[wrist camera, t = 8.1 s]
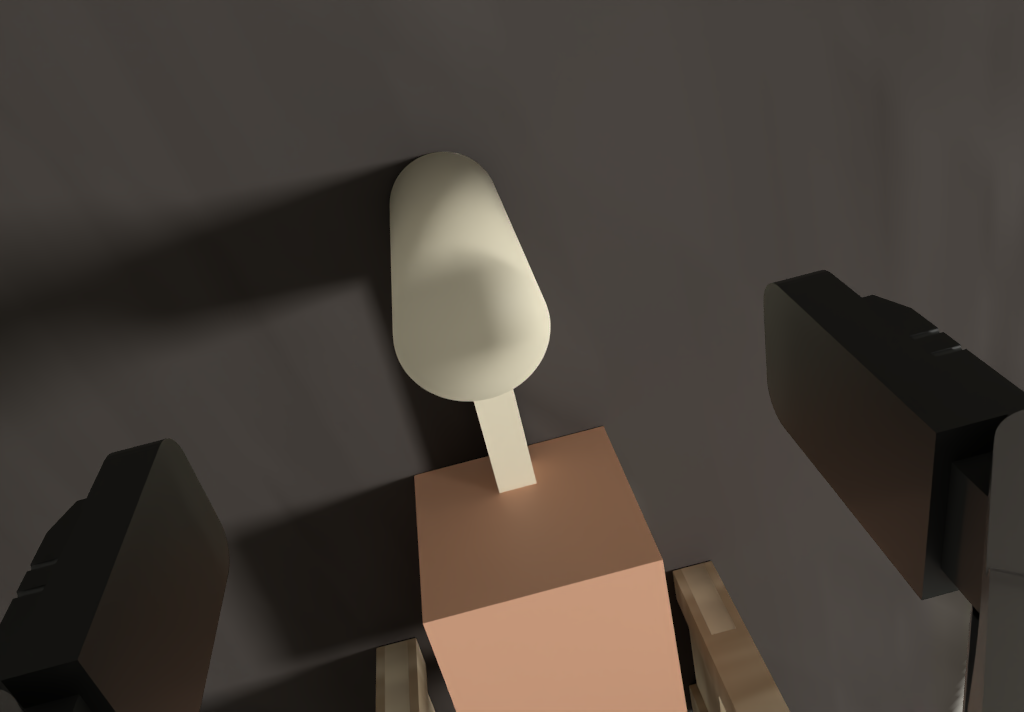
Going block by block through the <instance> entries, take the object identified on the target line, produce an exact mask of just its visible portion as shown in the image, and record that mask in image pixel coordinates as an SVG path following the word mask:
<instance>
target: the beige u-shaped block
mask: <svg viewBox="0 0 1024 712" xmlns="http://www.w3.org/2000/svg"><path fill="white" fill-rule="evenodd" d="M673 577H674V584H675V591H676V598H677V601H678V604H679V606H680V608H681V610H682V613H683V615H684V617H685V619H686V622H687V624H688V626H689V632H690V639H691V647H692V654H693V661H694V669H695V676H696V684H693V685H689V689H690V696H691V703H692V709H693V712H790V711H789V709H788V707H787V705H786V703H785V701H784V699H783V697H782V695H781V694H780V692H779V690H778V688H777V686H776V684H775V682H774V680H773V678H772V676H771V674H770V672H769V671H768V669H767V667H766V665H765V663H764V661H763V659H762V657H761V655H760V653H759V651H758V649H757V648H756V646H755V644H754V642H753V640H752V638H751V636H750V634H749V632H748V630H747V628H746V627H745V625H744V623H743V621H742V619H741V617H740V615H739V613H738V611H737V609H736V607H735V605H734V604H733V602H732V600H731V598H730V596H729V594H728V592H727V590H726V588H725V586H724V584H723V582H722V581H721V579H720V577H719V575H718V573H717V571H716V569H715V567H714V565H713V563H712V561H709V562H705V563H701V564H697V565H694V566H690V567H686V568H682V569H678V570H674V571H673ZM376 712H435V710H434V708H433V705H432V702H431V700H430V697H429V695H428V689H427V672H426V663H425V661H424V658H423V655H422V653H421V650H420V648H419V645H418V642H417V640H416V638H413V639H409V640H405V641H402V642H398V643H394V644H390V645H386V646H382V647H379V648H376Z"/></svg>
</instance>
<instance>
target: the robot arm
mask: <svg viewBox="0 0 1024 712" xmlns="http://www.w3.org/2000/svg"><path fill="white" fill-rule="evenodd" d="M764 324H765V345H766V366H767V384H768V390H769V395H770V398H771V402H772V405H773V408H774V410H775V412H776V415H777V417H778V419H779V420H780V422H781V424H782V425H783V427H784V428H785V429H786V430H787V432H788V433H789V434H790V435H791V437H792V438H793V439H794V440H795V442H796V443H797V444H798V445H799V447H800V448H801V449H802V450H803V452H804V453H805V454H806V456H807V457H808V458H809V459H810V461H811V462H812V463H813V464H814V466H815V467H816V468H817V469H818V471H819V472H820V473H821V474H822V476H823V477H824V478H825V479H826V481H827V482H828V483H829V484H830V486H831V487H832V488H833V489H834V491H835V492H836V493H837V494H838V496H839V497H840V498H841V499H842V501H843V502H844V503H845V505H846V506H847V507H848V508H849V510H850V511H851V512H852V513H853V515H854V516H855V517H856V518H857V520H858V521H859V522H860V523H861V525H862V526H863V527H864V528H865V530H866V531H867V532H868V533H869V535H870V536H871V537H872V538H873V540H874V541H875V542H876V543H877V545H878V546H879V547H880V549H881V550H882V551H883V552H884V554H885V555H886V556H887V557H888V559H889V560H890V561H891V562H892V564H893V565H894V566H895V567H896V569H897V570H898V571H899V572H900V574H901V575H902V576H903V577H904V579H905V580H906V581H907V582H908V584H909V585H910V586H911V587H912V589H913V590H914V591H915V593H916V594H917V595H918V596H919V598H920V599H921V600H924V599H928V598H932V597H935V596H939V595H943V594H946V593H950V592H954V591H957V590H960V591H961V593H962V594H963V595H964V596H965V597H966V598H967V600H968V601H969V602H970V603H971V604H972V608H971V616H970V623H969V636H968V648H967V661H966V674H965V687H964V700H963V712H1024V392H1023V391H1022V390H1021V389H1019V388H1018V387H1017V386H1015V385H1014V384H1013V383H1011V382H1010V381H1008V380H1007V379H1006V378H1004V377H1003V376H1002V375H1000V374H999V373H998V372H996V371H995V370H994V369H992V368H991V367H990V366H988V365H987V364H986V363H984V362H983V361H982V360H980V359H979V358H978V357H976V356H975V355H974V354H972V353H971V352H969V351H968V350H967V349H965V350H962V349H961V345H960V344H959V343H957V342H956V341H955V340H953V339H952V338H951V337H949V336H948V335H947V334H945V333H944V332H942V333H939V331H938V328H937V327H936V326H935V325H933V324H932V323H931V322H929V321H928V320H926V319H925V318H924V317H922V316H921V315H920V314H918V313H917V312H916V311H914V310H913V309H912V308H909V307H906V306H904V305H901V304H898V303H895V302H892V301H889V300H886V299H883V298H881V297H878V296H875V295H871V296H867V297H863V298H862V297H860V296H859V295H858V294H857V293H855V292H854V291H853V290H852V289H850V288H849V287H848V286H847V285H845V284H844V283H843V282H841V281H840V280H839V279H838V278H836V277H835V276H834V275H833V274H831V273H830V272H828V271H826V270H821V271H817V272H813V273H809V274H805V275H801V276H797V277H794V278H790V279H786V280H782V281H778V282H774V283H771V284H769V285H768V286H767V287H766V289H765V292H764ZM228 572H229V549H228V544H227V539H226V536H225V532H224V530H223V527H222V525H221V523H220V521H219V519H218V517H217V515H216V513H215V511H214V509H213V507H212V505H211V503H210V501H209V500H208V498H207V496H206V494H205V492H204V490H203V488H202V486H201V484H200V482H199V481H198V479H197V477H196V475H195V473H194V471H193V469H192V467H191V465H190V463H189V462H188V460H187V458H186V456H185V454H184V452H183V451H182V449H181V448H180V446H179V445H178V444H177V443H176V442H175V441H174V440H172V439H163V440H160V441H156V442H152V443H148V444H144V445H140V446H136V447H133V448H129V449H125V450H121V451H117V452H113V453H111V454H109V455H108V456H107V457H106V459H105V460H104V463H103V465H102V467H101V469H100V471H99V473H98V475H97V477H96V480H95V482H94V484H93V486H92V488H91V490H90V492H89V494H88V496H87V499H83V500H79V501H77V502H76V503H75V504H74V505H73V506H72V507H71V508H70V509H69V510H68V511H67V512H66V513H65V514H64V515H63V516H62V517H61V518H60V519H59V520H58V522H57V523H56V524H55V525H54V526H53V527H52V528H51V529H50V530H49V531H48V532H47V533H46V535H45V537H44V539H43V541H42V543H41V545H40V547H39V549H38V551H37V553H36V555H35V557H34V559H33V561H32V563H31V571H27V573H26V575H25V577H24V578H23V580H22V582H21V584H20V586H19V588H18V590H17V594H18V598H15V599H13V600H12V602H11V604H10V606H9V608H8V610H7V612H6V614H5V616H4V618H3V620H2V622H1V624H0V712H200V707H201V702H202V697H203V693H204V688H205V683H206V678H207V673H208V669H209V664H210V659H211V654H212V649H213V645H214V640H215V635H216V630H217V625H218V621H219V616H220V611H221V606H222V601H223V597H224V592H225V587H226V582H227V577H228Z"/></svg>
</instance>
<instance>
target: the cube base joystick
mask: <svg viewBox="0 0 1024 712" xmlns="http://www.w3.org/2000/svg"><path fill="white" fill-rule="evenodd" d="M389 207H390V246H391V284H392V323H393V342H394V348H395V352H396V355H397V357H398V360H399V362H400V364H401V365H402V367H403V369H404V370H405V372H406V373H407V374H408V375H409V377H410V378H411V379H412V380H413V381H414V382H416V383H417V384H418V385H419V386H421V387H422V388H423V389H425V390H427V391H429V392H430V393H432V394H435V395H437V396H440V397H442V398H446V399H450V400H456V401H474V404H475V408H476V411H477V415H478V418H479V422H480V425H481V429H482V432H483V436H484V440H485V443H486V447H487V450H488V454H489V456H486V457H483V458H479V459H475V460H471V461H467V462H464V463H460V464H456V465H452V466H448V467H444V468H441V469H437V470H433V471H429V472H425V473H421V474H418V475H414V480H415V497H416V514H417V531H418V548H419V565H420V582H421V599H422V616H423V625H424V628H425V630H426V633H427V636H428V638H429V641H430V643H431V646H432V649H433V651H434V654H435V657H436V659H437V662H438V664H439V667H440V670H441V672H442V675H443V678H444V680H445V683H446V685H447V688H448V691H449V693H450V696H451V699H452V701H453V704H454V706H455V709H456V712H687V707H686V701H685V695H684V689H683V683H682V676H681V670H680V664H679V658H678V652H677V645H676V639H675V633H674V627H673V620H672V614H671V608H670V602H669V596H668V589H667V583H666V577H665V571H664V565H663V559H662V557H661V555H660V552H659V550H658V548H657V546H656V543H655V541H654V539H653V537H652V534H651V532H650V530H649V528H648V525H647V523H646V521H645V519H644V517H643V514H642V512H641V510H640V508H639V505H638V503H637V501H636V499H635V496H634V494H633V492H632V490H631V487H630V485H629V483H628V481H627V478H626V476H625V474H624V472H623V469H622V467H621V465H620V463H619V460H618V458H617V456H616V454H615V451H614V449H613V447H612V445H611V442H610V440H609V438H608V436H607V433H606V431H605V429H604V427H603V426H601V427H597V428H594V429H590V430H586V431H582V432H578V433H574V434H571V435H567V436H563V437H559V438H555V439H551V440H548V441H544V442H540V443H536V444H532V445H529V446H527V443H526V439H525V435H524V431H523V427H522V423H521V419H520V415H519V411H518V407H517V403H516V399H515V395H514V391H513V389H514V388H515V387H517V386H518V385H520V384H521V383H522V382H524V381H525V380H526V379H527V378H528V377H529V376H530V375H531V374H532V373H533V372H534V370H535V369H536V368H537V367H538V365H539V363H540V362H541V360H542V359H543V356H544V354H545V352H546V349H547V346H548V343H549V337H550V317H549V312H548V308H547V305H546V303H545V300H544V298H543V296H542V294H541V291H540V289H539V287H538V284H537V282H536V280H535V278H534V275H533V273H532V271H531V268H530V266H529V264H528V261H527V259H526V257H525V255H524V252H523V250H522V248H521V245H520V243H519V241H518V239H517V236H516V234H515V232H514V229H513V227H512V225H511V223H510V220H509V218H508V216H507V213H506V211H505V209H504V207H503V204H502V202H501V200H500V197H499V195H498V193H497V191H496V188H495V186H494V184H493V182H492V179H491V178H490V176H489V175H488V173H487V172H486V171H485V170H484V168H482V167H481V166H480V165H479V164H478V163H477V162H475V161H474V160H472V159H470V158H468V157H466V156H464V155H461V154H458V153H453V152H435V153H430V154H427V155H424V156H421V157H419V158H417V159H416V160H414V161H412V162H411V163H410V164H409V165H407V166H406V167H405V168H404V169H403V170H402V171H401V173H400V174H399V176H398V177H397V179H396V181H395V183H394V185H393V187H392V190H391V195H390V205H389Z"/></svg>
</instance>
